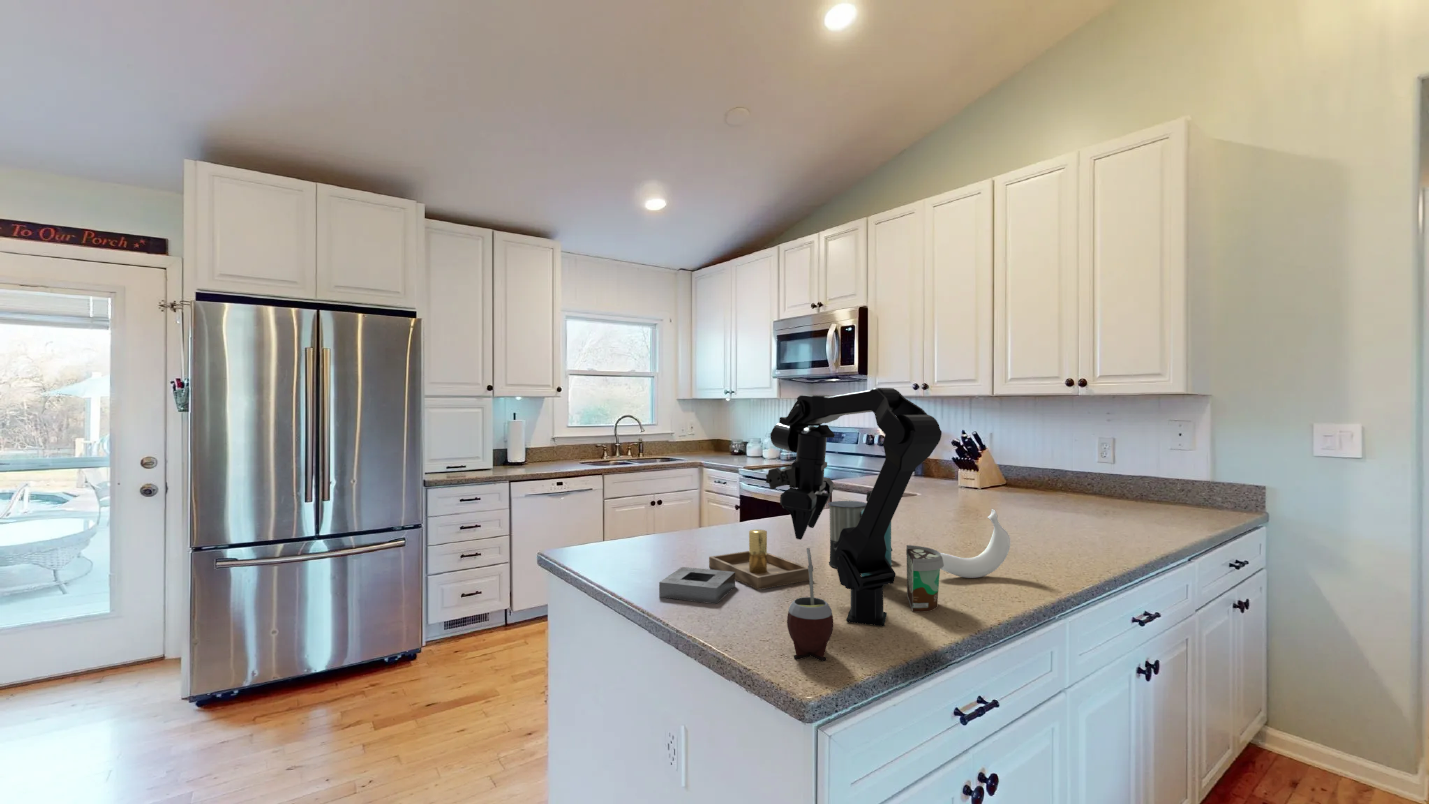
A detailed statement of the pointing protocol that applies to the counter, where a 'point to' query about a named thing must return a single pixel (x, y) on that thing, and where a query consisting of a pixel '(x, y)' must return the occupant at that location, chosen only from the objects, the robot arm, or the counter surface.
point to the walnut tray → (776, 573)
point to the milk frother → (842, 521)
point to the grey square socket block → (697, 585)
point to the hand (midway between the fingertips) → (805, 533)
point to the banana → (981, 555)
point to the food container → (923, 577)
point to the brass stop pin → (758, 551)
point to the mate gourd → (810, 623)
